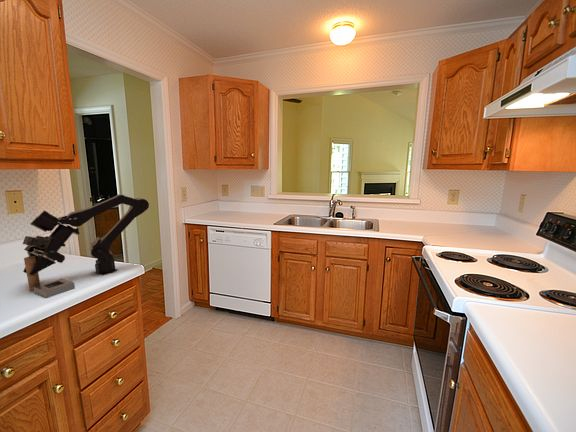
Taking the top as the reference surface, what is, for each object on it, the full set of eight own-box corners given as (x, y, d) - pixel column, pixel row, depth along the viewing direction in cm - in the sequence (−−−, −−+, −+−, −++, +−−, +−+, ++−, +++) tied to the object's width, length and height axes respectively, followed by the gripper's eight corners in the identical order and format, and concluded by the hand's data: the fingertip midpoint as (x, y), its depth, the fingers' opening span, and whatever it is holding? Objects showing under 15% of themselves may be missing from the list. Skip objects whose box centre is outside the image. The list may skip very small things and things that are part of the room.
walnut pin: (38, 287, 107) (33, 255, 105) (42, 289, 106) (37, 256, 104) (28, 290, 104) (22, 258, 102) (32, 292, 103) (26, 259, 101)
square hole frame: (62, 284, 110) (61, 278, 110) (74, 288, 106) (74, 282, 106) (34, 293, 102) (33, 286, 102) (46, 297, 98) (45, 291, 98)
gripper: (26, 225, 109) (-7, 260, 101) (50, 229, 100) (15, 267, 93) (53, 239, 117) (24, 273, 109) (77, 244, 109) (47, 281, 101)
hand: (27, 273), depth 103 cm, fingers open, 5 cm apart
